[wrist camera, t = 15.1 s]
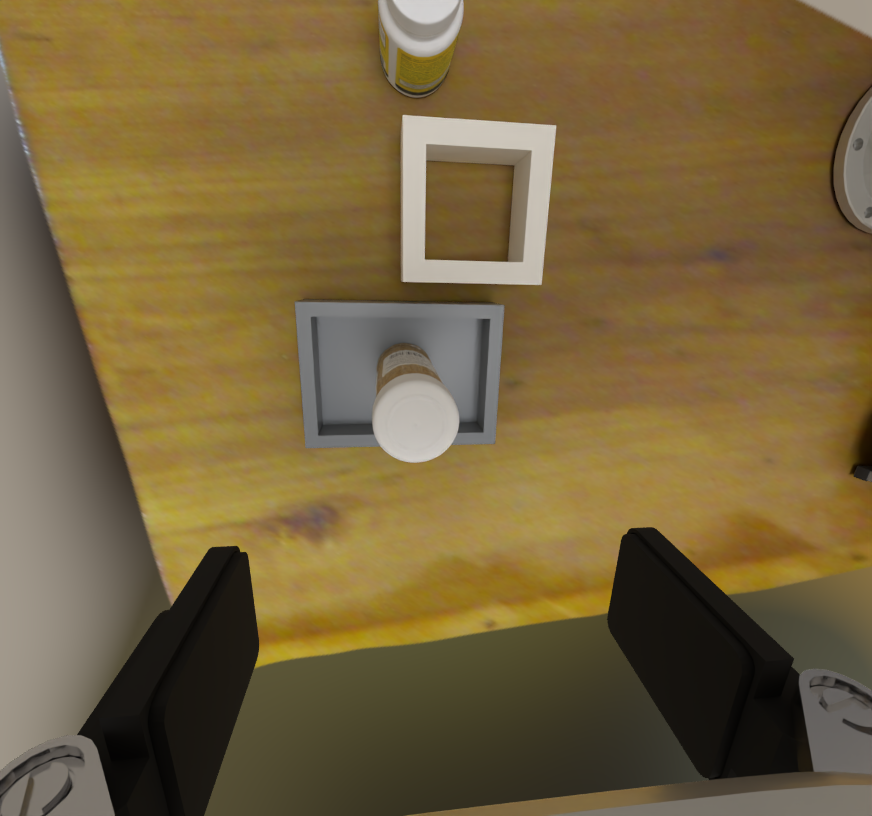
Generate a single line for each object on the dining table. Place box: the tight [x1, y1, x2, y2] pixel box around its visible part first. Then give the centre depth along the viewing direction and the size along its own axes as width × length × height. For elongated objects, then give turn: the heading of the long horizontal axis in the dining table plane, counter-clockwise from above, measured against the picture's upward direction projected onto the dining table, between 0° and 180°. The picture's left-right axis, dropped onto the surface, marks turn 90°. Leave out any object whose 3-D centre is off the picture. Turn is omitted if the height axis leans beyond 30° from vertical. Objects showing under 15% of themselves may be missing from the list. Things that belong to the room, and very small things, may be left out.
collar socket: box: [401, 115, 556, 285], centre depth 30 cm, size 10×10×4 cm
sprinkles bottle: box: [372, 343, 459, 463], centre depth 28 cm, size 5×5×13 cm
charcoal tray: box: [295, 299, 504, 448], centre depth 34 cm, size 15×11×4 cm
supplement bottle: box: [378, 0, 464, 98], centre depth 25 cm, size 5×5×8 cm
